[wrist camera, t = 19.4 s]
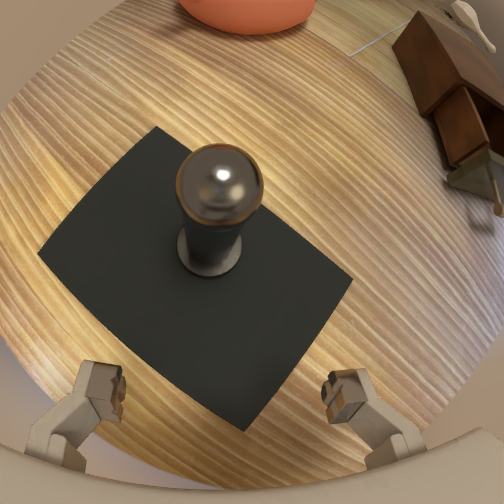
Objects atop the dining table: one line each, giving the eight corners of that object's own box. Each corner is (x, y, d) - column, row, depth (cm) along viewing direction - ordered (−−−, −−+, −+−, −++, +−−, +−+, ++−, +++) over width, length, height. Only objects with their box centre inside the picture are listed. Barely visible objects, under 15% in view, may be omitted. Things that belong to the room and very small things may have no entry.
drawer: (511, 234, 28) (548, 220, 21) (456, 222, 25) (503, 200, 19) (480, 123, 32) (507, 102, 25) (419, 93, 29) (448, 62, 23)
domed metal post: (239, 281, 20) (288, 234, 9) (174, 277, 20) (147, 224, 9) (241, 220, 21) (285, 122, 10) (179, 215, 21) (167, 111, 10)
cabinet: (485, 146, 32) (522, 121, 24) (420, 116, 29) (461, 76, 21) (456, 78, 35) (483, 51, 27) (391, 46, 33) (418, 9, 24)
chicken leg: (488, 59, 47) (505, 46, 41) (447, 8, 43) (464, -5, 37) (481, 56, 52) (497, 45, 46) (442, 10, 49) (458, -2, 42)
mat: (350, 280, 23) (353, 279, 22) (242, 429, 19) (244, 432, 18) (157, 129, 23) (156, 125, 22) (40, 255, 19) (36, 253, 18)
